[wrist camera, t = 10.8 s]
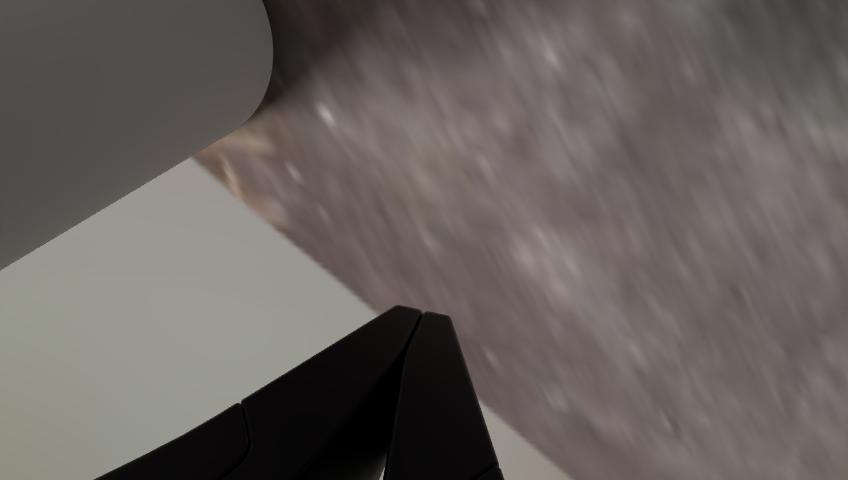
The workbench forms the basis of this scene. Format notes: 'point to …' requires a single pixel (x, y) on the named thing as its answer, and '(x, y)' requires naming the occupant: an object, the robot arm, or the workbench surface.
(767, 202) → the workbench surface
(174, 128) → the beverage can
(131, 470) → the robot arm
